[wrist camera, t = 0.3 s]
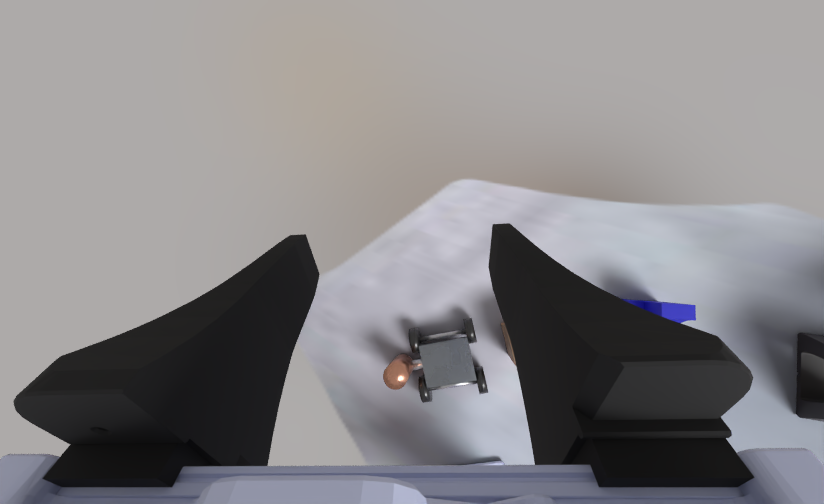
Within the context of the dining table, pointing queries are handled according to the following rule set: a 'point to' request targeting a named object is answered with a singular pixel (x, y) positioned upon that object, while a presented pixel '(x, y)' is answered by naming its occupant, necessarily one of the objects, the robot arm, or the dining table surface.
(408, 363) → the pin
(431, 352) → the dolly
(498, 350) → the dining table surface
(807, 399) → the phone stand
